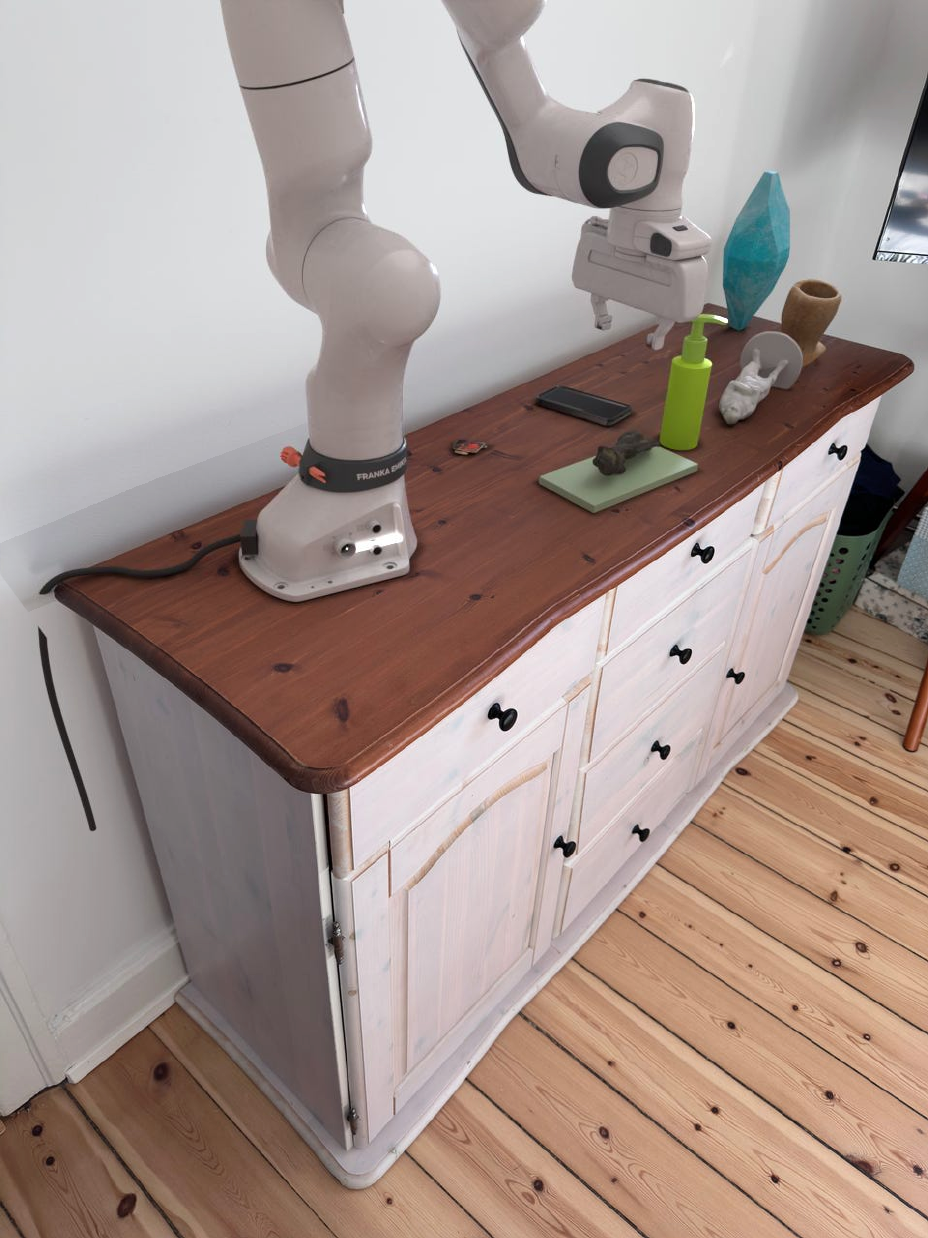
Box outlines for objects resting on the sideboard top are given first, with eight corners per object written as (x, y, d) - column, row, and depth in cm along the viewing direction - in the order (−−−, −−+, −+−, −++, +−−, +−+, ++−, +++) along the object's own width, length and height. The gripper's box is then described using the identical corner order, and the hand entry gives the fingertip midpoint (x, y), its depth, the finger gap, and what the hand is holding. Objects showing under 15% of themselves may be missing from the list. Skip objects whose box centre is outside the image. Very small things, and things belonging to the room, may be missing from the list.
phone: (558, 384, 162) (634, 406, 154) (558, 390, 162) (633, 412, 155) (533, 397, 156) (610, 420, 149) (533, 403, 157) (609, 426, 150)
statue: (623, 458, 144) (577, 485, 127) (625, 423, 142) (578, 445, 125) (663, 461, 141) (621, 488, 124) (665, 425, 139) (623, 448, 123)
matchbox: (455, 440, 144) (455, 437, 144) (488, 443, 143) (488, 441, 143) (449, 453, 140) (450, 450, 140) (483, 456, 140) (483, 453, 139)
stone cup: (809, 378, 171) (829, 296, 162) (749, 363, 177) (766, 282, 168) (839, 358, 180) (860, 279, 172) (782, 344, 186) (799, 267, 178)
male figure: (811, 335, 161) (764, 385, 144) (799, 387, 167) (752, 442, 150) (749, 322, 165) (697, 370, 149) (739, 374, 171) (688, 425, 155)
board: (593, 513, 126) (594, 505, 125) (538, 483, 133) (539, 476, 132) (696, 471, 138) (698, 463, 137) (641, 445, 145) (642, 438, 144)
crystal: (781, 326, 196) (816, 171, 179) (753, 341, 187) (787, 180, 170) (728, 313, 202) (757, 163, 185) (699, 328, 193) (726, 171, 176)
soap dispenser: (703, 452, 143) (728, 323, 131) (658, 448, 144) (679, 319, 132) (703, 437, 148) (727, 311, 136) (659, 433, 149) (679, 307, 137)
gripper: (567, 215, 121) (557, 321, 129) (689, 248, 108) (669, 364, 116) (600, 210, 124) (589, 314, 132) (723, 242, 111) (702, 355, 119)
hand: (627, 338), depth 124 cm, fingers open, 8 cm apart
